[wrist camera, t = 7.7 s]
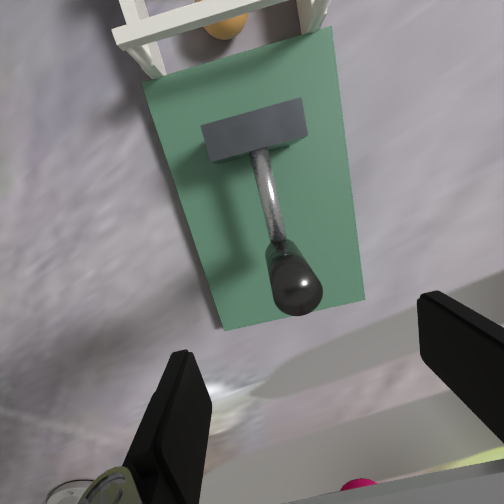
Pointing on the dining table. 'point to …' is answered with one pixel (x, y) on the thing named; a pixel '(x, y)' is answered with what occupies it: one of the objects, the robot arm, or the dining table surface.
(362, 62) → the dining table surface
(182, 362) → the robot arm
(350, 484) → the pepper mill
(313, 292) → the grey mallet
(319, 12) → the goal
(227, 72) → the pitch board
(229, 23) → the ball
